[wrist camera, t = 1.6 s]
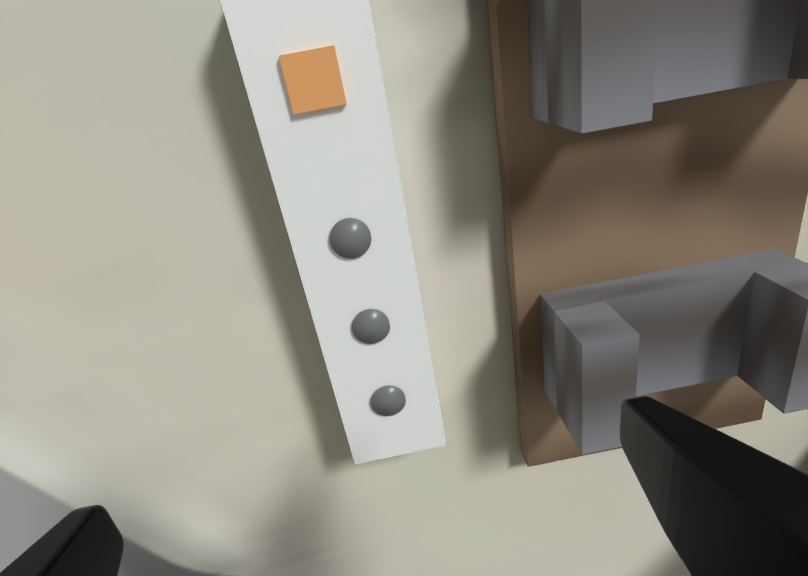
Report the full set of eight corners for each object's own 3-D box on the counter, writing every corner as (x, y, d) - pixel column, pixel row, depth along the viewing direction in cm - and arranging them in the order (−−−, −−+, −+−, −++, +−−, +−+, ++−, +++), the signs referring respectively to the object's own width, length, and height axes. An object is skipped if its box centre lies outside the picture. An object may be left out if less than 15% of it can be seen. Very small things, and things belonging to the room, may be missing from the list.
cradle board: (746, 406, 25) (832, 481, 21) (521, 452, 25) (559, 537, 21) (876, -296, 14) (1124, -463, 10) (470, -228, 14) (529, -367, 9)
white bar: (434, 401, 24) (447, 449, 21) (353, 418, 24) (355, 468, 21) (357, -34, 16) (359, -55, 13) (235, -11, 16) (210, -28, 13)
